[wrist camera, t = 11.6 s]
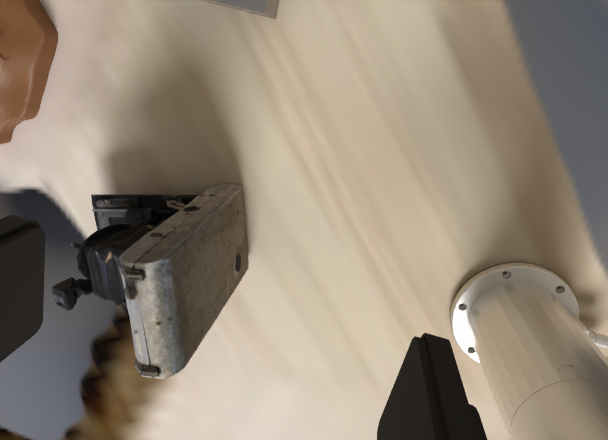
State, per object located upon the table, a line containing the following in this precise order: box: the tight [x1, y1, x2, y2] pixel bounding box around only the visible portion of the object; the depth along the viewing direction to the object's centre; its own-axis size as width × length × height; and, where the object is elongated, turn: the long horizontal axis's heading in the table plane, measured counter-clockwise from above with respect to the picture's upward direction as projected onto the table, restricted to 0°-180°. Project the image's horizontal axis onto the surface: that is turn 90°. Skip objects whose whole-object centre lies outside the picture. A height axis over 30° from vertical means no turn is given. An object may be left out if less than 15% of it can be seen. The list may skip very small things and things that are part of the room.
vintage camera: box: [52, 184, 248, 379], centre depth 39 cm, size 10×16×20 cm, turn 92°
